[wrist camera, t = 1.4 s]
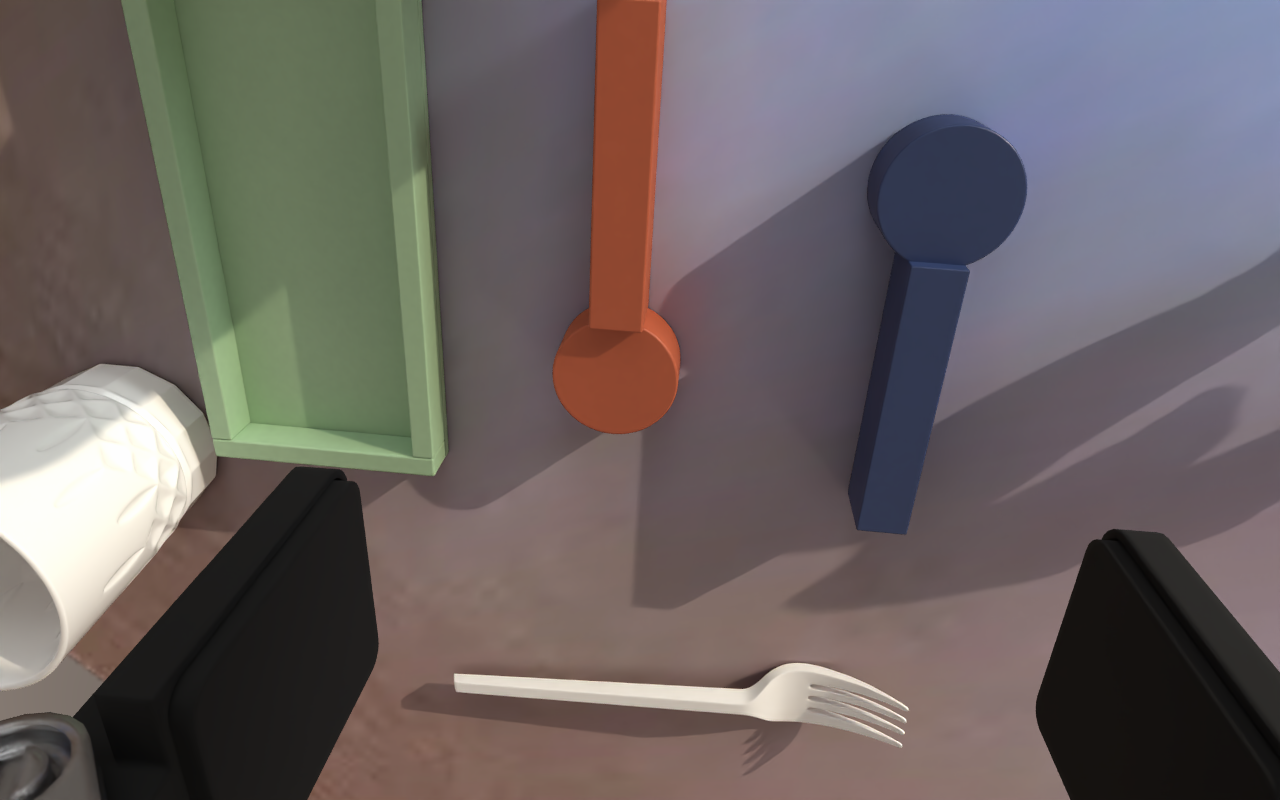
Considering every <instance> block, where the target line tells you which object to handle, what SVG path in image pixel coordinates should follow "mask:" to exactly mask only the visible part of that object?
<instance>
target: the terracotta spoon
mask: <svg viewBox="0 0 1280 800" xmlns="http://www.w3.org/2000/svg"><path fill="white" fill-rule="evenodd" d="M666 1H667V0H597V25H596V63H595V102H594V141H593V179H592V218H591V256H590V295H589V308H588V309H586V310H585V311H583V312H582V313H581V314H579V315H578V316H577V317H576V318H575V319H574V320H573V322H572V323H571V324H570V326H569V327H568V329H567V331H566V333H565V335H564V338H563V340H562V342H561V345H560V347H559V349H558V351H557V354H556V356H555V359H554V364H553V373H552V374H553V383H554V388H555V391H556V394H557V396H558V398H559V400H560V402H561V403H562V405H563V406H564V408H565V409H566V410H567V411H568V412H569V413H570V415H572V416H573V417H574V418H575V419H576V420H578V421H579V422H580V423H582V424H584V425H585V426H587V427H589V428H592V429H594V430H597V431H600V432H604V433H611V434H626V433H632V432H637V431H640V430H643V429H645V428H647V427H649V426H651V425H652V424H654V423H655V422H657V421H658V420H659V419H660V418H662V417H663V416H664V414H665V413H666V412H667V411H668V409H669V408H670V406H671V405H672V403H673V401H674V399H675V395H676V392H677V387H678V379H679V370H680V348H679V345H678V341H677V339H676V336H675V334H674V332H673V331H672V329H671V327H670V326H669V325H668V324H667V322H666V321H665V320H664V319H663V318H662V317H661V316H659V315H658V314H657V313H655V312H654V311H652V310H651V309H649V308H648V301H649V285H650V268H651V251H652V234H653V218H654V201H655V184H656V168H657V151H658V134H659V118H660V101H661V84H662V68H663V51H664V34H665V18H666Z"/></svg>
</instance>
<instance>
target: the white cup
mask: <svg viewBox="0 0 1280 800" xmlns="http://www.w3.org/2000/svg"><path fill="white" fill-rule="evenodd" d="M216 467H217V456H216V453H215V448H214V444H213V438H212V435H211V430H210V427H209V425H208V423H207V420H206V418H205V416H204V414H203V412H202V411H201V410H200V409H199V408H198V407H197V406H196V405H195V404H194V403H193V402H192V401H191V400H190V399H189V398H188V397H187V396H186V395H185V394H184V393H183V392H182V391H181V390H180V389H179V388H178V387H177V386H176V385H174V384H172V383H170V382H168V381H166V380H164V379H162V378H160V377H158V376H156V375H154V374H152V373H150V372H148V371H146V370H144V369H142V368H139V367H133V366H122V365H110V364H98V365H96V366H94V367H91V368H89V369H86V370H84V371H82V372H79V373H77V374H74V375H72V376H70V377H68V378H66V379H64V380H62V381H60V382H59V383H57V384H55V385H53V386H52V387H50V388H48V389H46V390H44V391H42V392H40V393H34V394H31V395H28V396H26V397H24V398H22V399H20V400H19V401H17V402H15V403H13V404H11V405H10V406H8V407H6V408H3V409H0V691H5V690H14V689H19V688H23V687H27V686H30V685H32V684H35V683H37V682H39V681H41V680H43V679H44V678H45V677H47V676H48V675H50V674H51V673H52V672H53V671H54V670H55V669H56V668H57V667H58V665H59V664H60V663H61V662H62V661H63V660H64V658H65V657H66V656H67V655H68V654H69V653H70V652H71V650H72V649H73V648H74V647H75V646H76V645H77V644H78V642H79V641H80V640H81V639H82V638H83V637H84V635H85V634H86V633H87V632H88V631H89V630H90V629H91V627H92V626H93V625H94V624H95V623H96V622H97V621H98V620H99V618H100V617H101V616H102V615H103V614H104V613H105V612H106V610H107V609H108V608H109V607H110V606H111V605H112V604H113V602H114V601H115V600H116V599H117V598H118V597H119V596H120V594H121V593H122V592H123V591H124V590H125V589H126V588H127V586H128V585H129V584H130V583H131V582H132V581H133V580H134V578H135V577H136V576H137V575H138V574H139V573H140V572H141V570H142V569H143V568H144V567H145V566H146V565H147V564H148V562H149V561H150V560H151V559H152V558H153V556H154V555H155V554H156V553H157V552H158V550H159V549H160V547H161V546H162V545H163V543H164V542H165V541H166V540H167V539H168V538H169V537H170V535H171V534H172V533H173V532H174V531H175V530H176V528H177V526H178V524H179V521H180V519H181V518H182V517H183V516H184V514H185V513H186V512H187V511H188V510H189V509H190V508H191V507H192V506H193V504H194V503H195V502H196V501H197V500H198V499H199V497H200V496H201V495H202V494H203V492H204V491H205V490H206V488H207V487H208V486H209V484H210V483H211V482H212V480H213V479H214V478H215V476H216Z"/></svg>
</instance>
